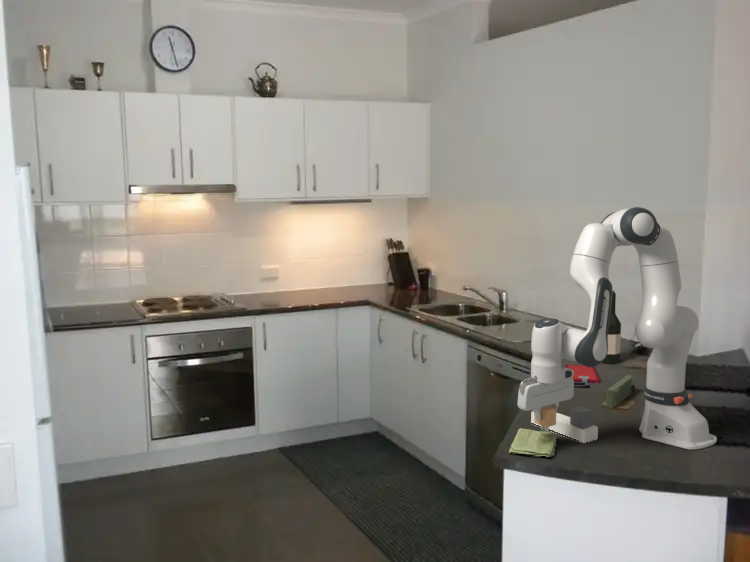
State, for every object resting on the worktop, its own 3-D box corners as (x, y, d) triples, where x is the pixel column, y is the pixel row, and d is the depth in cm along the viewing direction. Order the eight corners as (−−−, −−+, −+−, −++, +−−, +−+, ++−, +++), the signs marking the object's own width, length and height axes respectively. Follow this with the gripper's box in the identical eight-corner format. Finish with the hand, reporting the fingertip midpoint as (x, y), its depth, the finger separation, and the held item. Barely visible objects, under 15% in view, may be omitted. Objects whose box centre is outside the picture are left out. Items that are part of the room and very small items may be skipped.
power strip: (597, 439, 228) (598, 424, 227) (584, 443, 224) (584, 429, 224) (544, 419, 246) (544, 406, 245) (531, 423, 242) (531, 410, 242)
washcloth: (507, 456, 217) (507, 446, 217) (517, 435, 234) (517, 426, 233) (553, 461, 213) (553, 450, 212) (560, 440, 229) (560, 429, 229)
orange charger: (555, 431, 223) (556, 408, 221) (546, 434, 220) (546, 411, 219) (543, 426, 227) (544, 404, 226) (533, 429, 225) (534, 406, 223)
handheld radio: (604, 407, 258) (628, 388, 277) (613, 409, 256) (637, 390, 275) (605, 388, 256) (629, 371, 276) (614, 390, 254) (638, 373, 274)
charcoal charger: (591, 432, 228) (592, 410, 227) (582, 435, 226) (583, 412, 225) (578, 427, 232) (579, 405, 231) (570, 430, 230) (570, 408, 229)
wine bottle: (622, 360, 315) (624, 290, 310) (617, 365, 308) (619, 293, 304) (602, 358, 320) (604, 289, 315) (596, 362, 313) (598, 292, 308)
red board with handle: (560, 387, 280) (602, 389, 278) (560, 380, 280) (602, 382, 277) (555, 367, 309) (593, 369, 307) (556, 360, 309) (593, 362, 306)
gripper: (528, 382, 212) (527, 429, 215) (578, 370, 223) (577, 414, 226) (512, 377, 218) (512, 422, 220) (562, 365, 229) (561, 409, 231)
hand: (545, 418), depth 223 cm, fingers closed on orange charger, 4 cm apart
